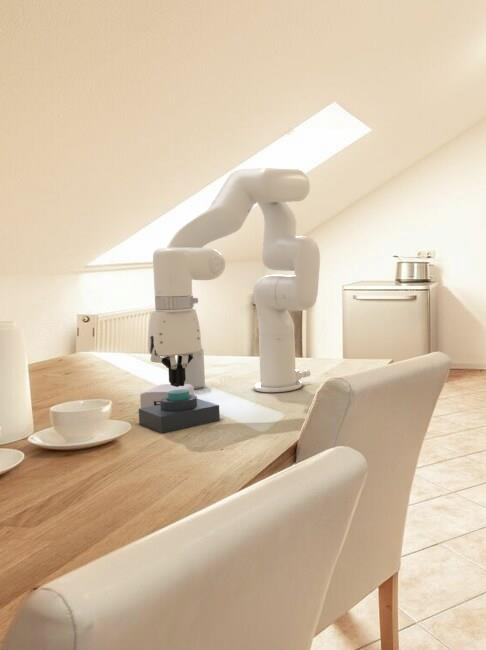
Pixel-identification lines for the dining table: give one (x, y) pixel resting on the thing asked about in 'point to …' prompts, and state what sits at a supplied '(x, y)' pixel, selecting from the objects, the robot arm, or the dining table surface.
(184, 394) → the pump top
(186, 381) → the beverage can
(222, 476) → the dining table surface
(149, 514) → the dining table surface
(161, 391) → the hinged button cover
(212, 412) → the teal push button box
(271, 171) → the robot arm
